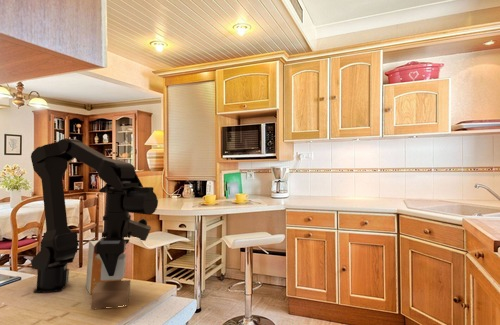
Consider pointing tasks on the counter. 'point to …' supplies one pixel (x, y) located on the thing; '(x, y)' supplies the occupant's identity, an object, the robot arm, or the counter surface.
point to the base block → (110, 294)
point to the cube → (118, 271)
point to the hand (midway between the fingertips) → (113, 272)
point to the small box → (94, 268)
